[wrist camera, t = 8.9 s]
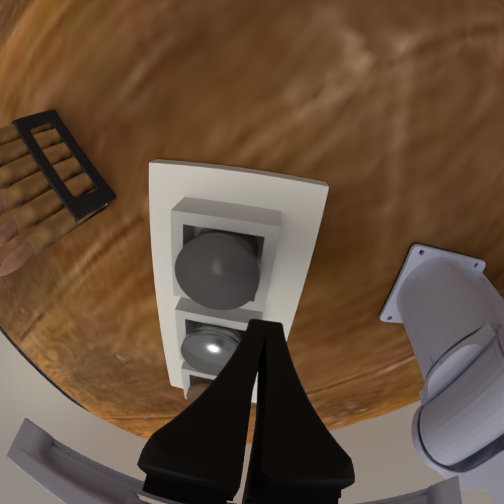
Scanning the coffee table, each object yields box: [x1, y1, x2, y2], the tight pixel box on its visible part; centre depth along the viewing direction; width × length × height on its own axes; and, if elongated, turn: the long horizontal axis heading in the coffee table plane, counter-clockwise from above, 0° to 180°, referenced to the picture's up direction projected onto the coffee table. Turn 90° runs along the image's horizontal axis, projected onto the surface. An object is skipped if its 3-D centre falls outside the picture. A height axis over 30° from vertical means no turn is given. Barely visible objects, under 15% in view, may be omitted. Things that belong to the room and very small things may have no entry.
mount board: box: [149, 159, 329, 403], centre depth 23 cm, size 12×27×4 cm, turn 173°
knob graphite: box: [175, 227, 260, 310], centre depth 18 cm, size 5×5×4 cm
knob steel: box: [181, 321, 245, 376], centre depth 22 cm, size 5×5×4 cm
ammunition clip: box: [0, 110, 116, 276], centre depth 13 cm, size 11×2×12 cm, turn 35°
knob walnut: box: [186, 376, 214, 404], centre depth 26 cm, size 5×5×4 cm
